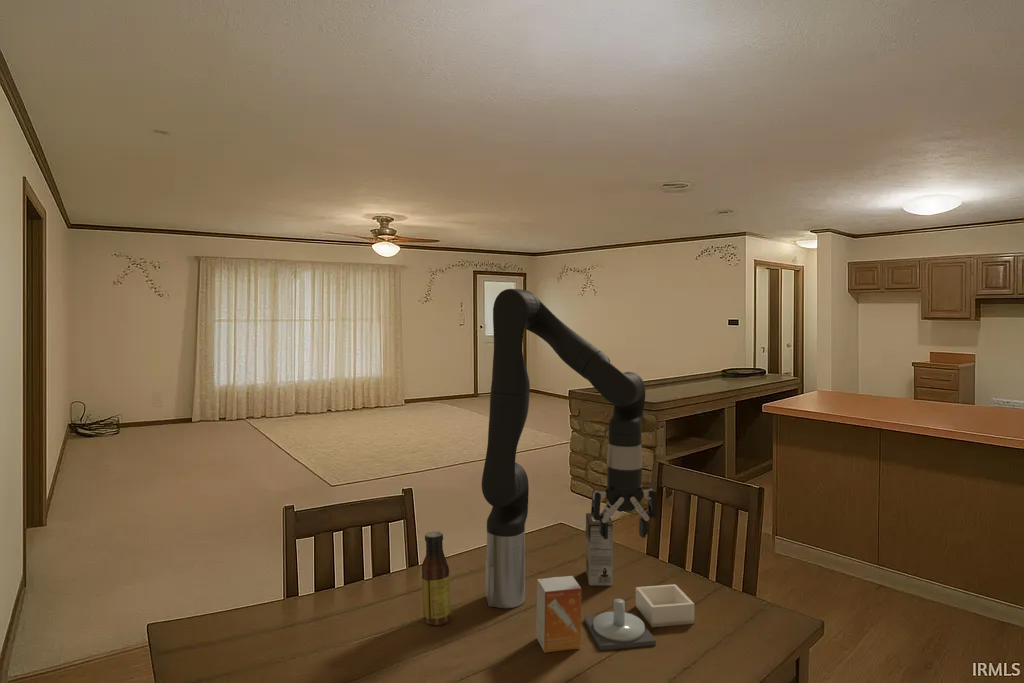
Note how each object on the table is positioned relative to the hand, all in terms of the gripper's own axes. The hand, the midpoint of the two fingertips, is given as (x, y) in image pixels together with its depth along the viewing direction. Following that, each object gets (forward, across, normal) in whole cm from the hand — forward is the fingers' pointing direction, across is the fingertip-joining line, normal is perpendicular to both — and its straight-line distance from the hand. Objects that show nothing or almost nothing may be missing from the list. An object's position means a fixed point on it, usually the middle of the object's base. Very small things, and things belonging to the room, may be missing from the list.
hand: (623, 537), depth 132 cm
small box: (+21, -15, -4) cm, 26 cm away
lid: (+20, -1, -2) cm, 20 cm away
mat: (+20, -1, -2) cm, 21 cm away
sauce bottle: (+21, -41, +9) cm, 47 cm away
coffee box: (+21, +2, +26) cm, 33 cm away
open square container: (+20, +11, +5) cm, 24 cm away
